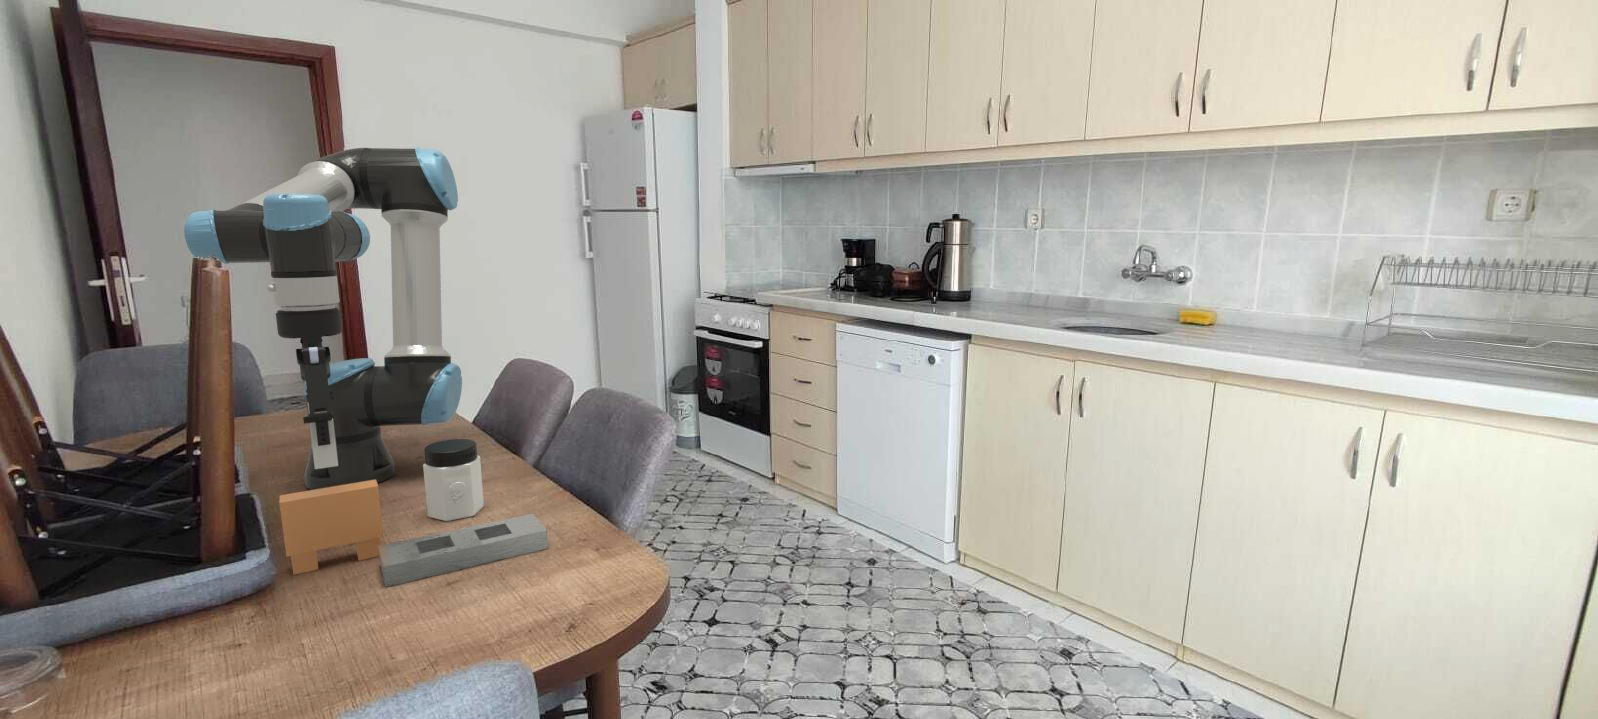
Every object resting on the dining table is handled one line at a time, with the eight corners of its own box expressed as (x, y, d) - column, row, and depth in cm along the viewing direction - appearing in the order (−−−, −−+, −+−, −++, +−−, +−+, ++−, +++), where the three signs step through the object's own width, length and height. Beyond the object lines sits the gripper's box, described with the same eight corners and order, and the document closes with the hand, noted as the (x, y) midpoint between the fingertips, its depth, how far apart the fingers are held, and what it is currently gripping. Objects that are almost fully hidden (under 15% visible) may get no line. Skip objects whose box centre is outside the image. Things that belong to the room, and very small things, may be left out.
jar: (431, 525, 122) (424, 456, 120) (424, 509, 129) (418, 443, 126) (488, 513, 127) (483, 447, 125) (479, 499, 133) (474, 435, 131)
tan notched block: (289, 567, 107) (279, 495, 105) (383, 547, 114) (375, 479, 112) (289, 576, 104) (279, 502, 102) (385, 555, 111) (378, 486, 109)
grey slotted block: (380, 565, 107) (377, 546, 107) (534, 530, 120) (533, 513, 119) (385, 587, 101) (383, 566, 100) (548, 548, 113) (546, 530, 113)
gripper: (276, 302, 110) (293, 439, 114) (272, 317, 90) (293, 483, 93) (335, 299, 114) (349, 431, 118) (344, 313, 94) (361, 472, 98)
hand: (324, 454), depth 106 cm, fingers open, 13 cm apart
